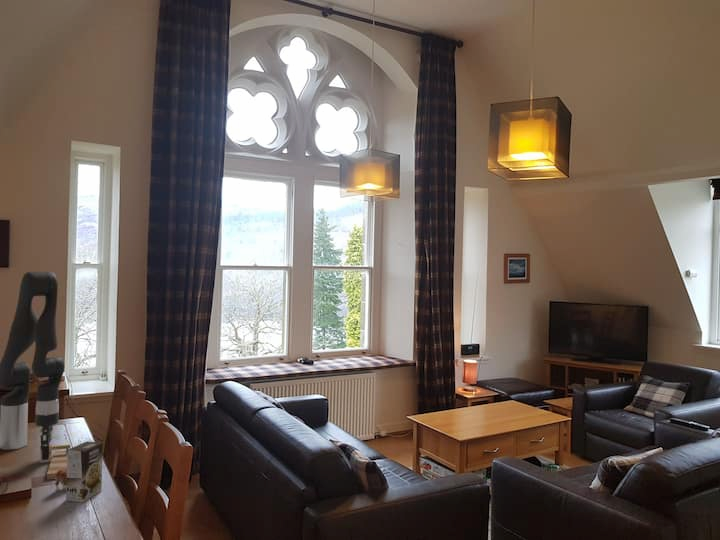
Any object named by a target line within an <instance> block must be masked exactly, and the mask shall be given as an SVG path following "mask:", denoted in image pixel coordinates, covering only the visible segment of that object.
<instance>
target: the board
mask: <svg viewBox="0 0 720 540" xmlns="http://www.w3.org/2000/svg"><path fill="white" fill-rule="evenodd" d="M67 457H68V453H66V449H63V450H53V452H52V459H51V462H49V466H48V469H47V472H46V480H47V479H49V480H56V479H55V478H56V477H55V475H56V473H57V471H59V470H60V469H62V468H65V467H67Z"/></svg>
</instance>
